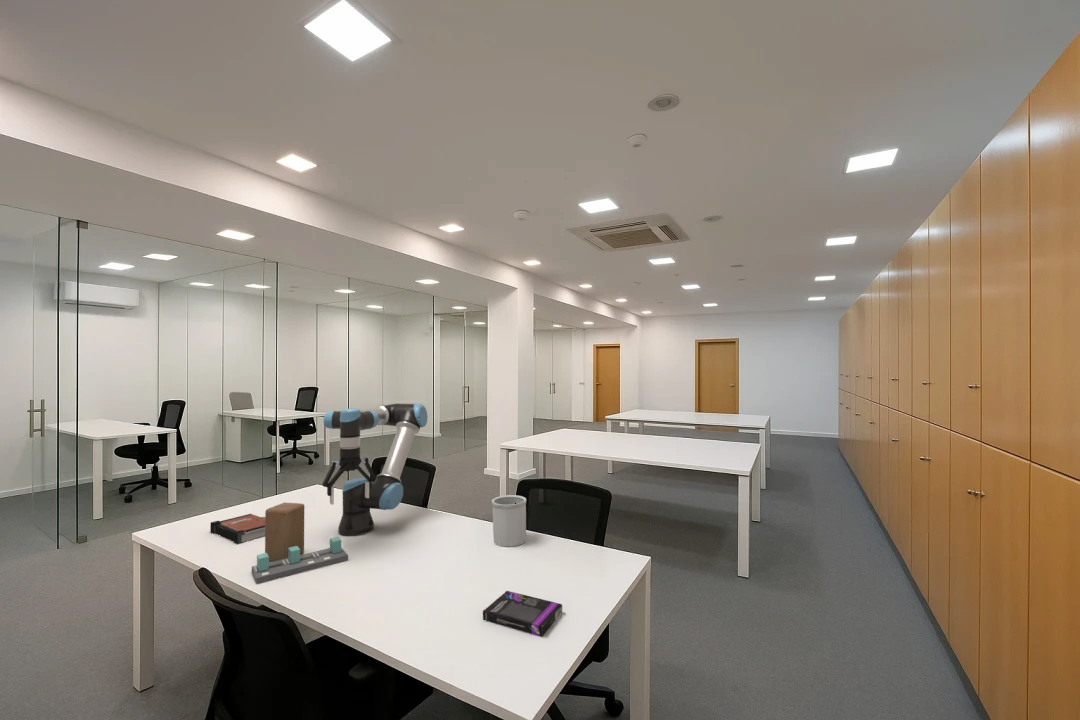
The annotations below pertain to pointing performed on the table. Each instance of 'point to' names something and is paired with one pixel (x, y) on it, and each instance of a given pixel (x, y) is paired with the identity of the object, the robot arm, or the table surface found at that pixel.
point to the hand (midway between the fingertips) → (349, 500)
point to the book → (240, 528)
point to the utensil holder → (509, 520)
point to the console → (299, 565)
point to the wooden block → (284, 530)
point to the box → (523, 613)
